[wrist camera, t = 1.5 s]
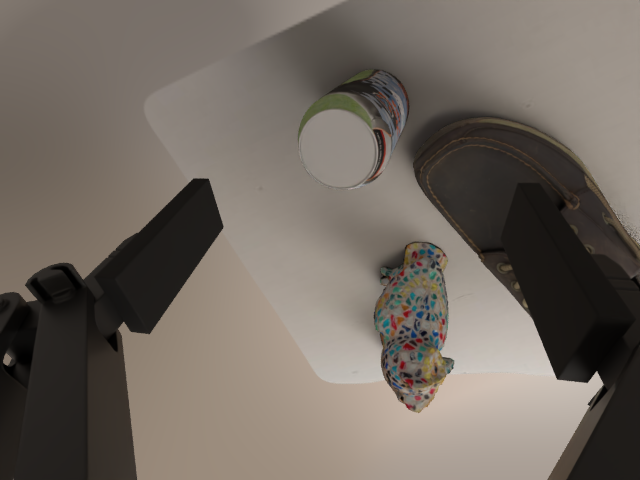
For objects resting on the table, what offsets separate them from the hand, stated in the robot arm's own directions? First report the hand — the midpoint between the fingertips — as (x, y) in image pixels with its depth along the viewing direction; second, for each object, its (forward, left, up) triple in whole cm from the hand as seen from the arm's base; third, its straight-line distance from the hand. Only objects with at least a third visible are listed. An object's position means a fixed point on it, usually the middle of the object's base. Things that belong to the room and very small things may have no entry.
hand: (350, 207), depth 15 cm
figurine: (+20, +5, -18) cm, 28 cm away
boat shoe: (+11, +16, -18) cm, 27 cm away
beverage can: (0, -1, -18) cm, 18 cm away
